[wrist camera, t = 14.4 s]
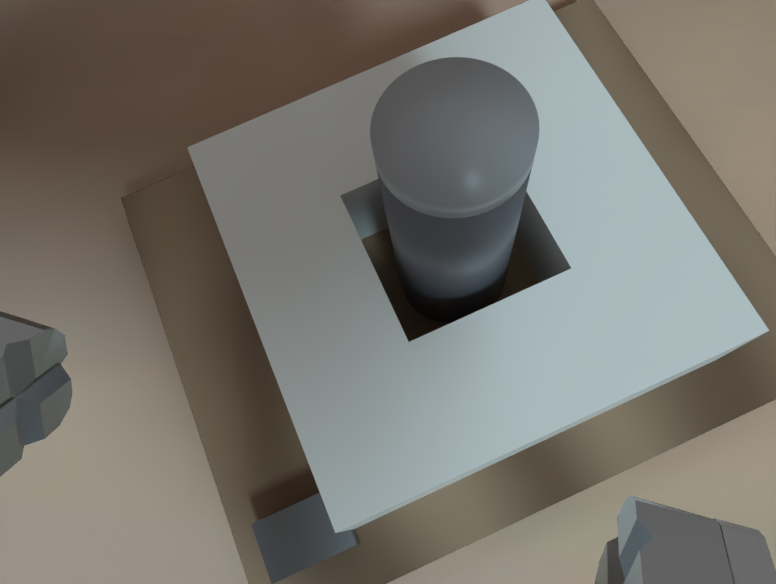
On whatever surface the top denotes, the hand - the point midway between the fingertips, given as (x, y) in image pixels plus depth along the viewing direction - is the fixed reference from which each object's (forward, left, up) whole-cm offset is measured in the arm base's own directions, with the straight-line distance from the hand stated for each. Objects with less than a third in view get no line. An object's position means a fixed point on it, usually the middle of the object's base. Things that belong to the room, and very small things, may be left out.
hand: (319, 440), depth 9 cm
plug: (-5, -6, -14) cm, 16 cm away
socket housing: (-5, -6, -15) cm, 17 cm away
